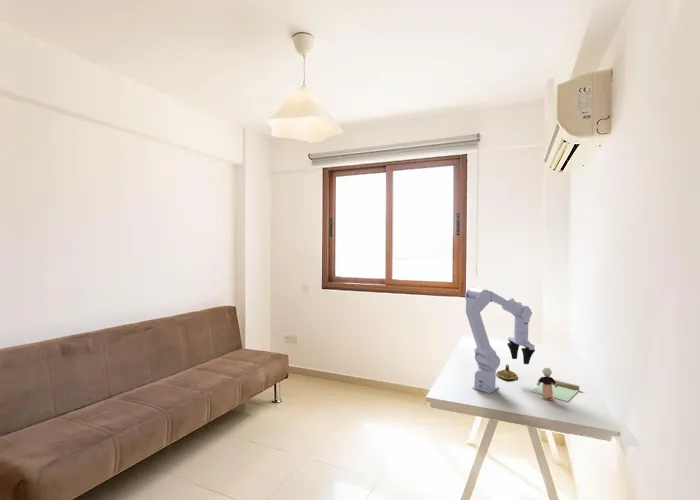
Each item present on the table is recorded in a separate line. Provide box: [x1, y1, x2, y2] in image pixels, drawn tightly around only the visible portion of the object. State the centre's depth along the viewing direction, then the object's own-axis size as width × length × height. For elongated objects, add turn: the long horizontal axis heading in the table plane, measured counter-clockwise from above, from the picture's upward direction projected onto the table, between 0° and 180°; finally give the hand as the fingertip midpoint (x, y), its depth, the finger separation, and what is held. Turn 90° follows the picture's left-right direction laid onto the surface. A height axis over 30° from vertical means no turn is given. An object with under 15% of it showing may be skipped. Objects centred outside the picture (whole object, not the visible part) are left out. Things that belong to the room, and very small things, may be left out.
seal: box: [496, 364, 519, 382], centre depth 176 cm, size 9×5×15 cm
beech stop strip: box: [552, 379, 580, 392], centre depth 164 cm, size 2×14×2 cm, turn 45°
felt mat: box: [530, 383, 579, 403], centre depth 158 cm, size 16×14×1 cm
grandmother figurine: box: [536, 367, 558, 401], centre depth 150 cm, size 8×4×13 cm, turn 92°
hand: (520, 361), depth 167 cm, fingers open, 7 cm apart
